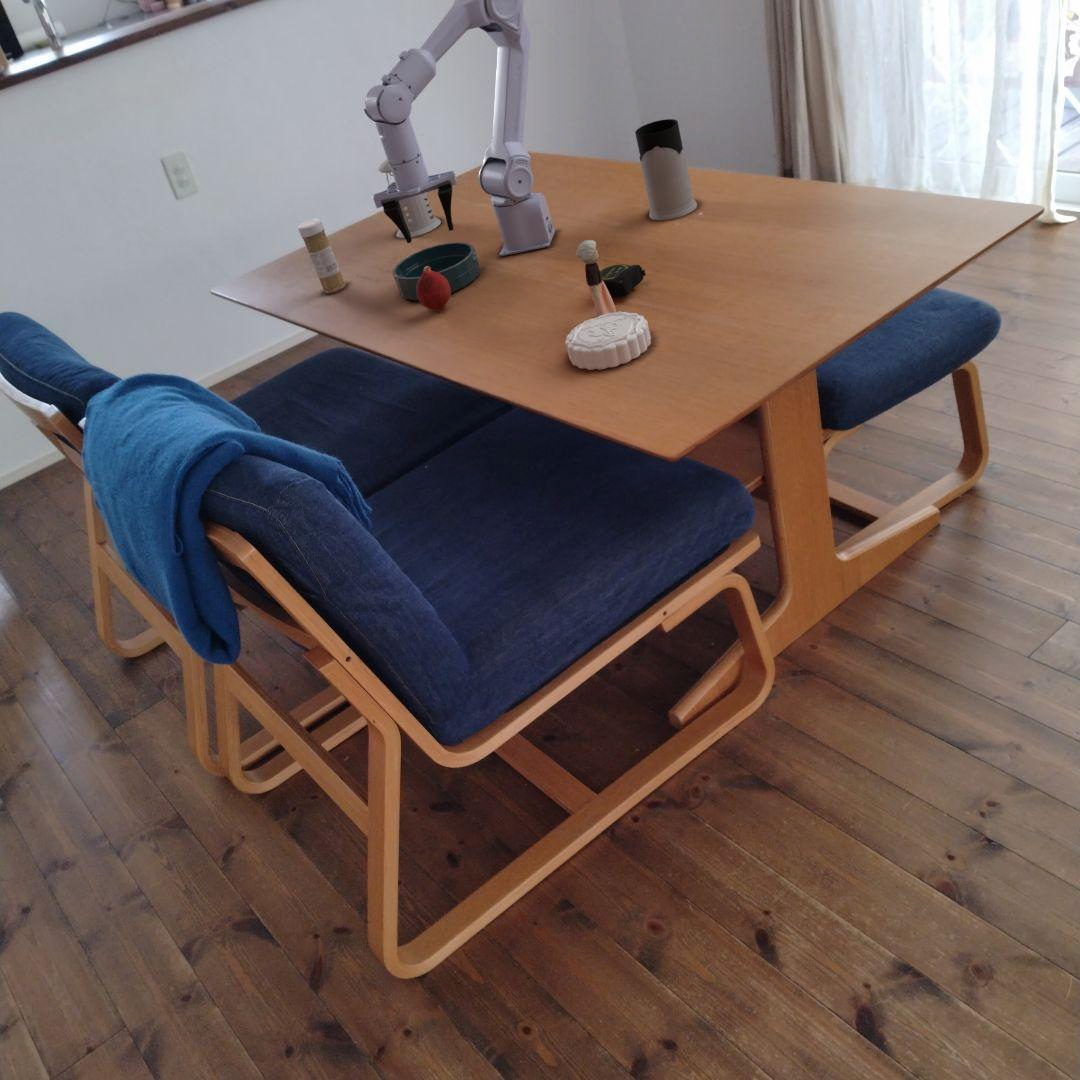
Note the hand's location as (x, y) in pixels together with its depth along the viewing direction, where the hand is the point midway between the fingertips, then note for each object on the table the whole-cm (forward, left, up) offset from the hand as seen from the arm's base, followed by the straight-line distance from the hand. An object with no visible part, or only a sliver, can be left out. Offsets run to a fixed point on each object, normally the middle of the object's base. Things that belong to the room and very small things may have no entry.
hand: (430, 234), depth 194 cm
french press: (+15, -36, -10) cm, 40 cm away
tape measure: (-35, +19, -10) cm, 41 cm away
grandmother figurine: (-33, +28, -10) cm, 44 cm away
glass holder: (-41, -17, -10) cm, 45 cm away
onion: (-2, +12, -10) cm, 15 cm away
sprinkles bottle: (+25, -9, -10) cm, 29 cm away
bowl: (+1, -1, -9) cm, 9 cm away
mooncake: (-35, +39, -10) cm, 53 cm away
